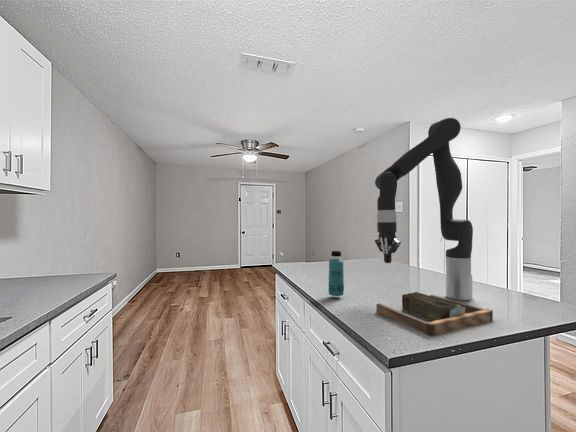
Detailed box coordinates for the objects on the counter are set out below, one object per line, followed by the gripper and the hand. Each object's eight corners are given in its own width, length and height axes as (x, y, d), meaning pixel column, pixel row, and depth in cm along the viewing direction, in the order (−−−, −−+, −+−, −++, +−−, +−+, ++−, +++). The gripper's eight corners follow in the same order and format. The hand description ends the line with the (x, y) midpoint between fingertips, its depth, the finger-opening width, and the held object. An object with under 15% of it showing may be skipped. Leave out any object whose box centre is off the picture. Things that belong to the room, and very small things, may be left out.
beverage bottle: (326, 295, 123) (326, 250, 123) (341, 295, 124) (341, 249, 124) (330, 300, 117) (330, 252, 117) (346, 299, 117) (345, 251, 117)
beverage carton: (450, 329, 86) (449, 307, 86) (400, 311, 104) (400, 293, 104) (466, 325, 90) (466, 304, 90) (416, 307, 107) (415, 290, 107)
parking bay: (432, 302, 113) (432, 293, 113) (492, 320, 93) (492, 310, 93) (376, 312, 101) (376, 302, 101) (431, 336, 81) (431, 324, 81)
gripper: (406, 221, 112) (407, 264, 112) (382, 220, 124) (383, 259, 124) (391, 221, 109) (392, 266, 109) (368, 221, 121) (369, 261, 121)
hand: (387, 262), depth 116 cm, fingers closed
